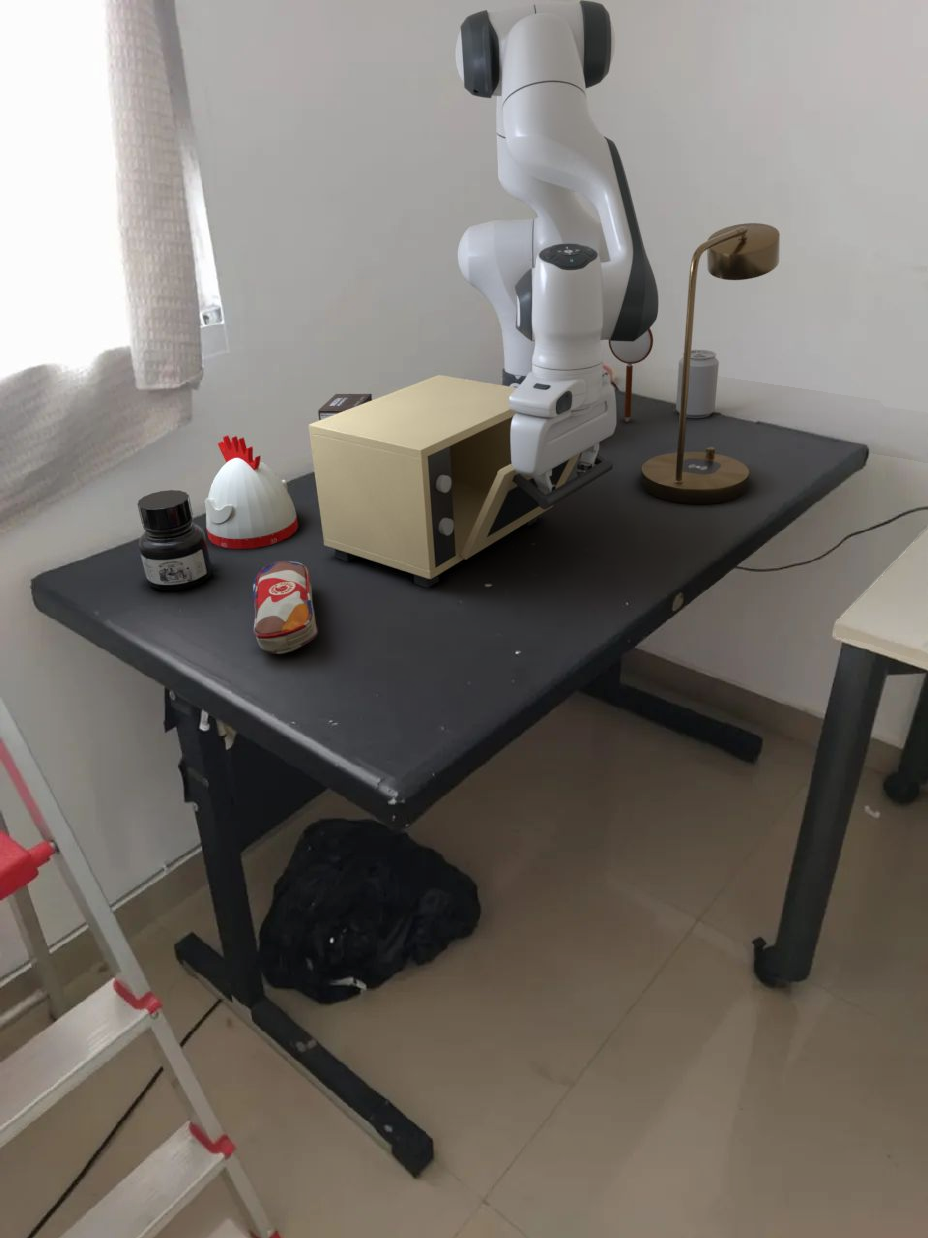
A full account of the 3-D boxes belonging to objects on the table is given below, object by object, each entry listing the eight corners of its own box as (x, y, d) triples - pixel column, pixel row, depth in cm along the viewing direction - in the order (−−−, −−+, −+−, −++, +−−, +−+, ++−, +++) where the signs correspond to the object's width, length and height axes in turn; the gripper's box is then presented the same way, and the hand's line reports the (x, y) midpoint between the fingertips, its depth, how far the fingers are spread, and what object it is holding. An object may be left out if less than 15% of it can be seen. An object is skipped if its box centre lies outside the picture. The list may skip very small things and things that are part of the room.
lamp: (783, 458, 163) (813, 222, 145) (723, 512, 144) (749, 249, 126) (690, 443, 172) (707, 218, 154) (622, 492, 153) (632, 243, 135)
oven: (446, 494, 156) (438, 374, 146) (552, 521, 144) (551, 393, 135) (325, 557, 137) (308, 424, 127) (436, 594, 126) (426, 451, 116)
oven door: (547, 502, 143) (589, 422, 132) (583, 531, 141) (628, 452, 130) (460, 555, 128) (499, 469, 118) (498, 588, 127) (541, 504, 116)
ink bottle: (138, 595, 130) (118, 514, 124) (153, 566, 137) (135, 489, 131) (209, 590, 130) (192, 509, 124) (220, 562, 138) (205, 485, 132)
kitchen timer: (255, 506, 156) (240, 417, 148) (316, 522, 148) (303, 430, 141) (189, 536, 146) (169, 443, 139) (251, 556, 139) (233, 459, 131)
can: (676, 419, 184) (680, 357, 178) (675, 407, 191) (679, 347, 185) (715, 419, 183) (720, 357, 177) (713, 407, 189) (718, 347, 184)
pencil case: (224, 661, 113) (217, 625, 111) (262, 585, 130) (257, 553, 128) (314, 660, 113) (309, 624, 110) (341, 584, 130) (337, 551, 127)
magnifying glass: (604, 420, 186) (607, 316, 176) (607, 418, 187) (611, 314, 177) (647, 425, 182) (652, 319, 172) (650, 422, 183) (655, 317, 173)
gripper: (588, 361, 128) (587, 458, 135) (500, 401, 114) (503, 506, 121) (630, 367, 124) (626, 466, 131) (543, 408, 111) (544, 517, 117)
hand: (566, 486), depth 126 cm, fingers open, 8 cm apart
